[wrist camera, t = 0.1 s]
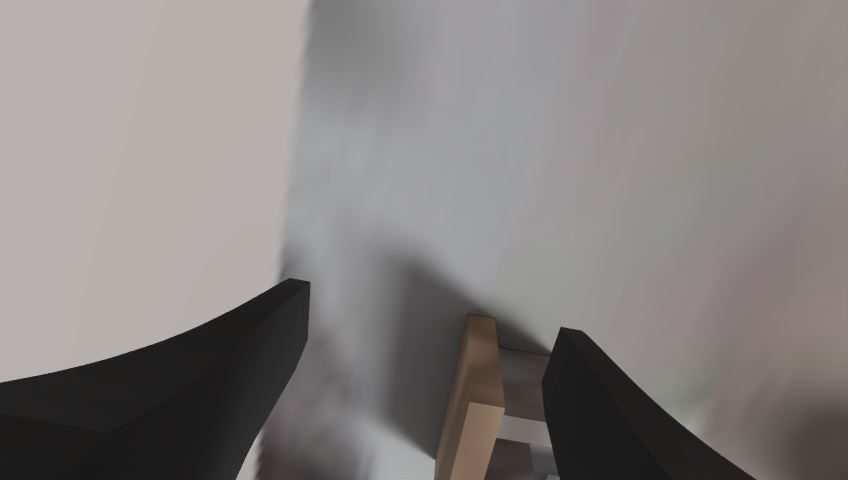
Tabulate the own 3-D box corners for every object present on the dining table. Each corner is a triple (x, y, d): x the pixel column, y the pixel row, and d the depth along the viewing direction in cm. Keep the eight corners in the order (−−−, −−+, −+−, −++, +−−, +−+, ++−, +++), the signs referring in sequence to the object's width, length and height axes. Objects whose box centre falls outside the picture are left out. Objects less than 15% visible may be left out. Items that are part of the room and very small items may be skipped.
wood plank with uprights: (566, 330, 23) (600, 424, 18) (516, 475, 28) (530, 586, 22) (468, 314, 24) (469, 401, 18) (435, 461, 29) (428, 568, 23)
